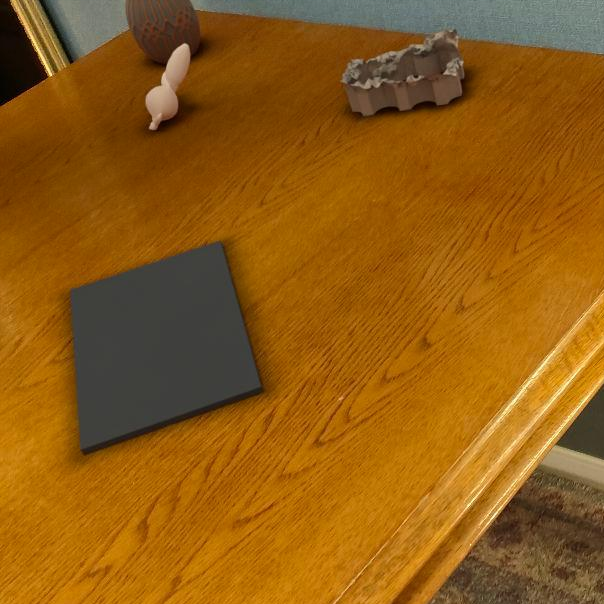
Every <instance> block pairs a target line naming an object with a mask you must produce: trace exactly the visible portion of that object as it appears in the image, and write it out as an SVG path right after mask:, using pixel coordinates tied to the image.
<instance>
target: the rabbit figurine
mask: <svg viewBox="0 0 604 604" xmlns="http://www.w3.org/2000/svg"><path fill="white" fill-rule="evenodd" d="M190 62H191V56H190V49H189V46H188V45H187V44H182V45H181V46H180V47H178V48H177V49H176V50H175V51H174V52H173V54H172V56H171V57H170V59H169V61H168V63H167V64H166V67H165V71H164V72H163V73H162V76H161V81H160V82H161V85H158V86H155V87H154V88H151V90H149V91H148V93H147V94H146V96H145V107H146V109H147V111H148V112H149V114H150V116H151V120H152V121H151V122H150V124H149V127H148V129H149V130H151V131H157V129H158V128H159V126H160V124H161V122H162V121H168V120H170V119H172V118H174V116H176V115H177V113H178V109H179V108H180V107H179V99H178V97H177V95H176V92H178V88H179V85H180V84H182V83H183V81H184V79H185V78H186V76H187V73H188V71H189V67H190Z"/></svg>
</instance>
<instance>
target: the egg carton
mask: <svg viewBox="0 0 604 604" xmlns="http://www.w3.org/2000/svg"><path fill="white" fill-rule="evenodd" d="M459 41H460V40H459V33H458V30H457V29H456V28H454V29H451V30H447V29H444V30H441V31H440V32H433V33H432V34H430V35H426V36H425V38H424V41H423V43H419V44H417V43H416V44H415V43H413V44H409V45H408V47H407V48H404V49H401V50H399V51H394V50H393V51H392V50H390V51H388V52H384V53H382V54H380V55H377V56H375V58H373V57H372V58H369V59H368V60H367V61H365V59H364V57H362V58H355V59H353V58H351V60H350V62H348V63H347V68H346V69H345V70H344V73H342V79H341V80H340V82H341V83H342V84H344V85H345V92H346V95H347V98H348V102H349V105H350V108H351V111H352V113H353V112H355V113H356V112H357V113H361V114H362V116H363V117H368V116H374V115H375V114H376V112H377V111H380V110H381V109H383V108H389V107H395V108H396V109H397V108H398V110H399V111H400V112H402V111H408V110H412V109H413V107H414V106H416V105H417V104H420V103H423V102H433V103H435V104H436V106H445V105H448V104H449V102H450V101H451V100H453V99H455V98H458V97H461V96H462V94H463V88H462V83H461V80H464V79H465V71H464V59H463V57H462V55H461V51H459V50H460V49H459V47H458V46H459ZM416 76H417V77H416Z"/></svg>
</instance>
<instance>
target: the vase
mask: <svg viewBox="0 0 604 604" xmlns="http://www.w3.org/2000/svg"><path fill="white" fill-rule="evenodd" d="M124 7H125V8H124V9H125V16H126V17H125V18H126V22H127V25H128V28H129V31H130V34H131V35H132V37H133V39H134V41H135V42H136V44H137V46H138V47H139V48H140V50H141V51H142V52H143V53H144V54H145V55H146V56H147V57H148V58H150V59H151V60H153V61H154V62H156V63H159V64H162V65H163V64H164V65H167V63H168V61H169V59H170V57H171V56H172V54H173V52H174V51H175V50H176V49H177V48H178V47H180V46H181V45H182V44H187V45H188V46H189V49H190V57H191V56H192V57H193V55H194V54H195V53H196V52H197V51H198V49H199V47H200V43H201V26H200V21H199V17H198V14H197V12H196V9H195V7H194V5H193V3H192V2H191V0H125V5H124Z"/></svg>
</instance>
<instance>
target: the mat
mask: <svg viewBox="0 0 604 604" xmlns="http://www.w3.org/2000/svg"><path fill="white" fill-rule="evenodd" d="M229 265H230V264H229V262H228V259H227V255H226V252H225V248H224V245H223V242H222V241H221V240H217V241H213V242H211V243H208V244H205V245H202V246H199V247H195V248H193V249H190V250H187V251H184V252H181V253H178V254H174V255H172V256H168V257H166V258H163V259H159V260H157V261H153V262H150V263H148V264H144V265H141V266H138V267H136V268H135V267H134V268H131V269H128V270H126V271H122V272H119V273H117V274H114V275H110V276H108V277H105V278H101V279H99V280H96V281H93V282H90V283H89V282H88V283H86V284H84V285H81V286H78V287H75V288H71V289H69V300H70V311H71V328H72V343H73V358H74V373H75V374H74V375H75V384H76V385H75V389H76V398H77V399H76V403H77V415H78V417H77V418H78V431H79V432H78V433H79V434H78V435H79V447H80V451H81V452H82V454H83V455H84V456H85V455H88V454H91V453H93V452H96V451H99V450H102V449H105V448H107V447H111V446H114V445H117V444H119V443H122V442H125V441H128V440H130V439H133V438H136V437H140V436H142V435H145V434H149V433H150V432H154V431H156V430H157V431H158V430H159V429H162V428H165V427H168V426H170V425H174V424H176V423H179V422H182V421H186V420H188V419H191V418H193V417H196V416H199V415H202V414H205V413H207V412H211V411H214V410H216V409H219V408H222V407H225V406H228V405H231V404H234V403H236V402H239V401H242V400H245V399H248V398H251V397H254V396H256V395H259V394H263V393H264V392H265V390H264V387H263V383H262V380H261V377H260V372H259V369H258V366H257V362H256V358H255V355H254V352H253V351H254V350H253V348H252V344H251V341H250V338H249V333H248V330H247V326H246V323H245V319H244V316H243V312H242V309H241V305H240V301H239V298H238V295H237V290H236V286H235V284H234V280H233V276H232V273H231V269H230V266H229Z"/></svg>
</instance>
